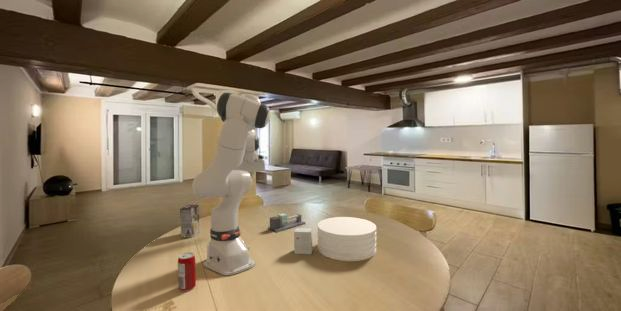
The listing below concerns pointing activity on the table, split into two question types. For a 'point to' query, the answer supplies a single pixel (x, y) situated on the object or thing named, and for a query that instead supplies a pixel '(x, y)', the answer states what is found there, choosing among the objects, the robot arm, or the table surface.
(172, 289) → the table surface
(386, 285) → the table surface
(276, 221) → the slider rail mechanism
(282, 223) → the sleeve
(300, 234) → the small box
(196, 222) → the coffee box
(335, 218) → the plate stack
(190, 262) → the soda can
